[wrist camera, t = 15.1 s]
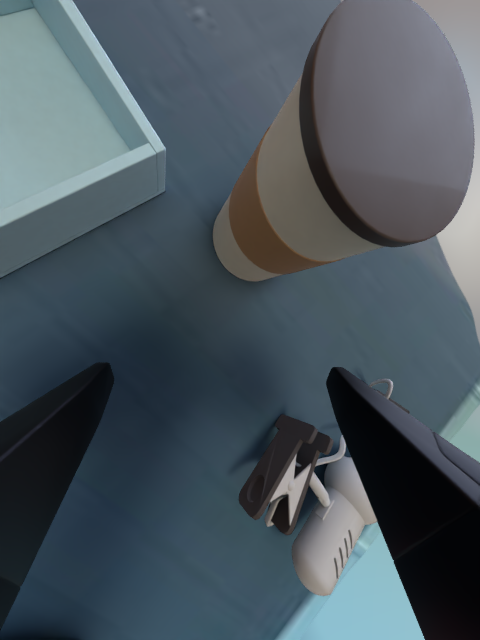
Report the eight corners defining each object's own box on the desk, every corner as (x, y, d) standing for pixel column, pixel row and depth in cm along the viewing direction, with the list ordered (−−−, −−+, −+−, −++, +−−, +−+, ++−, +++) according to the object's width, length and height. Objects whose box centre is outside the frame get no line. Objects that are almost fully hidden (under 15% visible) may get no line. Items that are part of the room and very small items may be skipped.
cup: (242, 299, 18) (380, 285, 7) (192, 221, 16) (261, 20, 5) (302, 256, 20) (494, 185, 8) (262, 181, 18) (435, -37, 7)
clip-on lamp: (336, 345, 25) (220, 478, 17) (394, 342, 20) (265, 536, 12) (380, 423, 27) (294, 578, 19) (446, 440, 21) (365, 672, 13)
